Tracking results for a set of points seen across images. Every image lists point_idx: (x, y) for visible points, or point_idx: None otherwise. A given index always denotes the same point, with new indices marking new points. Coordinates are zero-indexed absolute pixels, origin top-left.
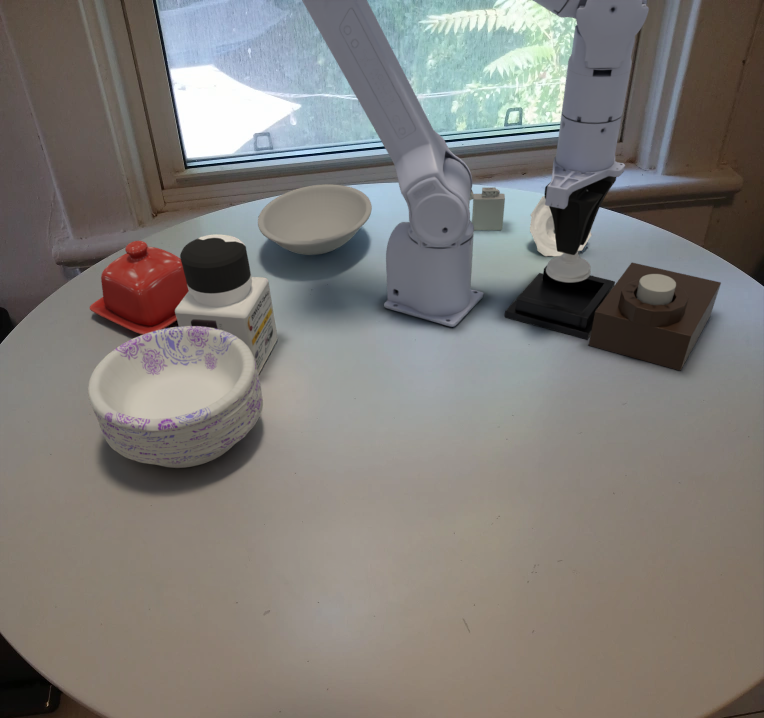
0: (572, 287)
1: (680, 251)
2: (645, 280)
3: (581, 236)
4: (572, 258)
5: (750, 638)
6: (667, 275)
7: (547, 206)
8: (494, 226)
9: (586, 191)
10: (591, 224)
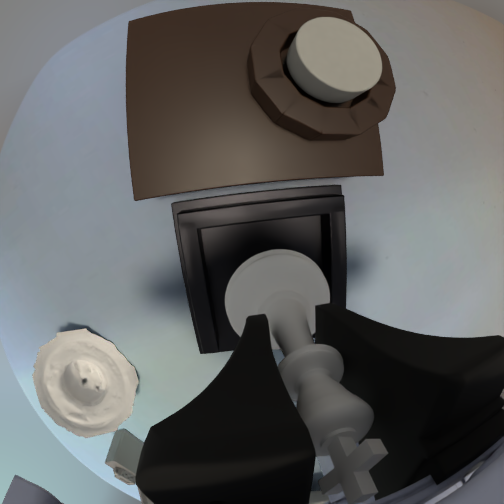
0: (209, 285)
1: (2, 197)
2: (353, 78)
3: (360, 318)
4: (302, 306)
5: (498, 22)
6: (148, 103)
7: (84, 420)
8: (131, 438)
9: (440, 436)
10: (264, 337)
